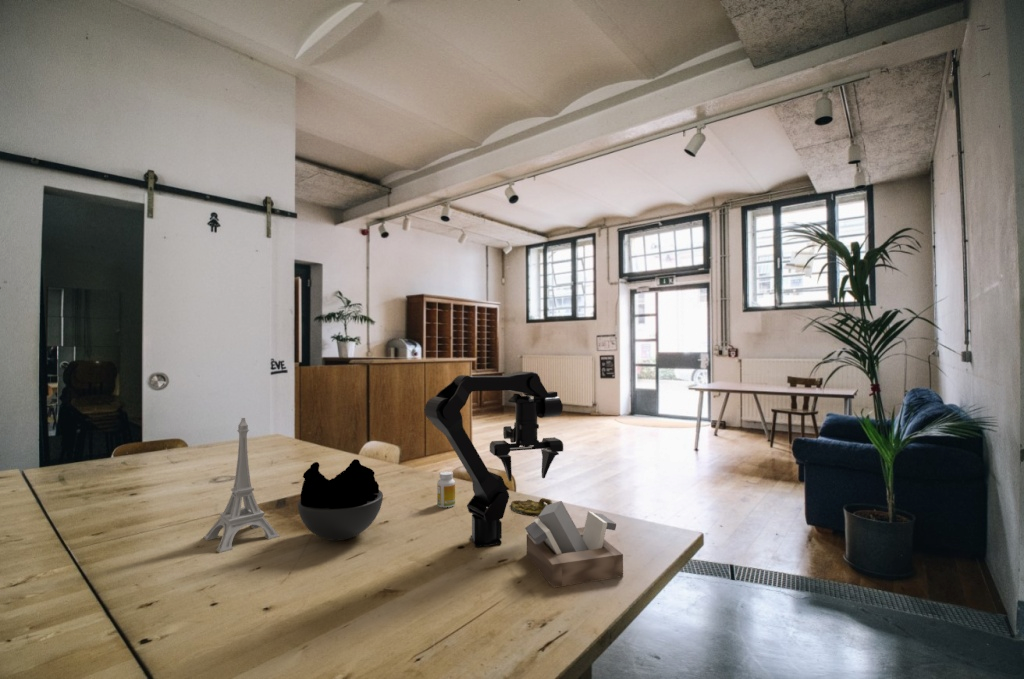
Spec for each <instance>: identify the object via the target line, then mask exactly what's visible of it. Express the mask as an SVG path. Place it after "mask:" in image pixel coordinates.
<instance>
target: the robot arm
mask: <svg viewBox="0 0 1024 679" xmlns="http://www.w3.org/2000/svg"><path fill="white" fill-rule="evenodd" d="M490 391H491V392H494V391H496V392H497V391H498V392H499V391H501V392H502V391H508V392H513V395H512V396H511V397H509V399H508V400H507V402H508V403H510V404H511V403H512V404H515V422H514V424H513V427H512V426H511V425H510V426H509V425H507V426H506V425H505V426H503V430H502V432H503V434H502V435H503V439H504V440H492V441H491V442H490V443H489V452H490V453H491V454H492V455H493V456H494V457H497V458H498V459H499V460H500V461H501V463H502V465H503V467H504V471H505V474H506V477H507V480H508V481H509V482H512V478H513V476H512V473H513V472H512V456H511V455H510V452H512V451H513V452H514V451H515V452H516V451H527V450H529V451H530V450H540V452H541V456H542V458H541V478H542V479H545V478H546V476H547V473H548V471H549V468H550V466H551V465H552V462H554V459H555V457H556V456H559V455H560V454H559V453H560V452H564V443H563V441H562V440H561V439H559V438H557V437H554V436H553V437H543V438H542V440H541V441H540V440H538V429H539V428H540V426H539V423H538V418H540V419H543V418H551V417H552V418H553V417H559V416H560V415H561V414H562V413H563V409H564V405H563V403H562V400H561V398H560V397H559V396H558V391H547V389H546V387H545V385H543V383H542V380H541V378H540V376H539V373H537V372H534V371H522V370H521V371H515V372H511V373H508V374H504V375H468V374H467V375H465V374H459V375H457V376H456V377H455V378H454V379H452V381H451V382H450V383H449V384H447V385H446V386H445V387H443V389H441V390H439V391H438V393H437V394H435V396H433V397H431V398H429V399H428V400H427V402H426V403H425V407H424V411H423V412H424V414H425V417H426V418H427V419H428V420H429V421H430V422H431V424H432V425H433V426H434V427H436V429H438V430H439V431H440V432H441V433H442V434H443V435H444V436H445V438H446V440H448V442H449V444H450V446H451V447H452V449H453V451H454V452H455V454H456V455H457V457H458V459H459V460H460V462H461V464H462V466H463V467H464V469H465V471H466V473H467V474H468V475H469V477H470V479H471V481H472V491H473V494H474V495H473V496H472V498H471V499H470V500H469V502H468V503H467V504H466V508H467V510H468V513H470V514H471V535H470V536H469V537H470V540H471V542H472V544H473V545H474V547H475V548H480V547H488V546H495V545H502V540H501V539H502V537H503V536H502V534H503V532H502V531H503V529H502V526H503V524H502V521H501V519H503V518H504V516H505V512H506V508H507V505H508V503H509V499H510V493H509V491H508V490H510V488H509V487H508V486H507V485H506V483H505V480H504V478H503V477H502V476H501V475H499V474H496V473H494V472H491V471H489V470H488V468H487V466H486V465H485V462H484V461H483V459H482V458H481V456H480V454H479V452H478V450H477V449H476V447H475V446H474V444H473V442H472V440H471V438H470V437H469V435H468V434H467V432H466V430H465V428H464V423H463V422H464V421H463V415H462V413H461V410H462V409H463V408H464V406H465V405H466V404H467V401H468V399H469V396H470V395H471V394H472V393H473V392H490ZM521 394H523V395H521ZM506 440H510V441H509V442H510V443H509V442H507V441H506Z"/></svg>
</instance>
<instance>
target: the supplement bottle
mask: <svg viewBox="0 0 1024 679" xmlns="http://www.w3.org/2000/svg"><path fill="white" fill-rule="evenodd" d="M453 478H454V473H453V471H441V472H440V473H439V480H437V488H436V489H437V493H436V495H437V498H436V500H437V507H439V508H442V507H443V509H445V508H446V509H447V507H448V508H452V506H453V507H454V506H456V481H455V479H453Z"/></svg>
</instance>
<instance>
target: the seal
mask: <svg viewBox="0 0 1024 679" xmlns="http://www.w3.org/2000/svg"><path fill="white" fill-rule="evenodd" d="M550 504H553V500H551V499H550V498H549V499H548V498H543V497H542V498H540V499H539V500H538V501H534V500H532V499H527V500H520V499H519V500H513V501H511V502H510V509H511V510H512V509H513V510H514V511H513V510H512V511H513V512H515V511H516V512H515V513H518V512H519V514H521V513H522V514H521V515H525V514H527V515H526V516H531V515H534V516H533V517H538V516H539V514H540V513H541V512H542V510H543V509H544V508H545V506H546V505H550Z"/></svg>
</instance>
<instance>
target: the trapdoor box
mask: <svg viewBox="0 0 1024 679" xmlns="http://www.w3.org/2000/svg"><path fill="white" fill-rule="evenodd" d="M584 527H585V526H583V527H576V528H577V529H578V531H579V533H580V535H581V537H582V536H583V532H584ZM526 556H527V557H528V558H529V560H531V561H532V564H534V566H535V567H536V568H537V569H538V571H539V572H540V573H541V575H542V576H543V577H544V579H545V580H546V581H547V582H548V584H549V585H550V586H551V587H552V588H558V587H564V586H571V585H576V584H577V585H578V584H583V583H591V582H597V581H602V580H604V581H605V580H609V579H616V578H621V577H624V554H623V553H622V552H621V551H619V550H618V549H617V548H616V547H614V545H613V544H611V543H609V542H608V541H607V540H606V539H604V541H603V546H602V548H600V549H592V550H585V551H578V552H571V553H563V554H556V555H554V554H553V553H552V552H551V551H550V550H549V548H548V547H547V545H546V543H545V541H542V542H541V543H540V544H537V543H536V542H535V541H534V540H533V539H532V538H531V536H530V535H529V534H528V533H527V534H526Z"/></svg>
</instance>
